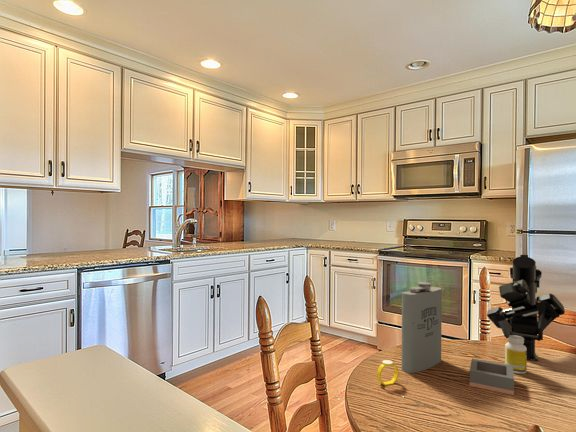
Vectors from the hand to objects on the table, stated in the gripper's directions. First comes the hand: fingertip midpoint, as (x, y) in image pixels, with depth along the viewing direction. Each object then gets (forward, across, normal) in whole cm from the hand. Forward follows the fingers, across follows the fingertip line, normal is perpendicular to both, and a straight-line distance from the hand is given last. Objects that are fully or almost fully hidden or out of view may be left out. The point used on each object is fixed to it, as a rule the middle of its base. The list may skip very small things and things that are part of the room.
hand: (522, 333), depth 99 cm
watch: (+26, -25, -16) cm, 39 cm away
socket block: (+11, -10, +4) cm, 16 cm away
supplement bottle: (0, -10, +12) cm, 16 cm away
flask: (+10, -26, -5) cm, 29 cm away
